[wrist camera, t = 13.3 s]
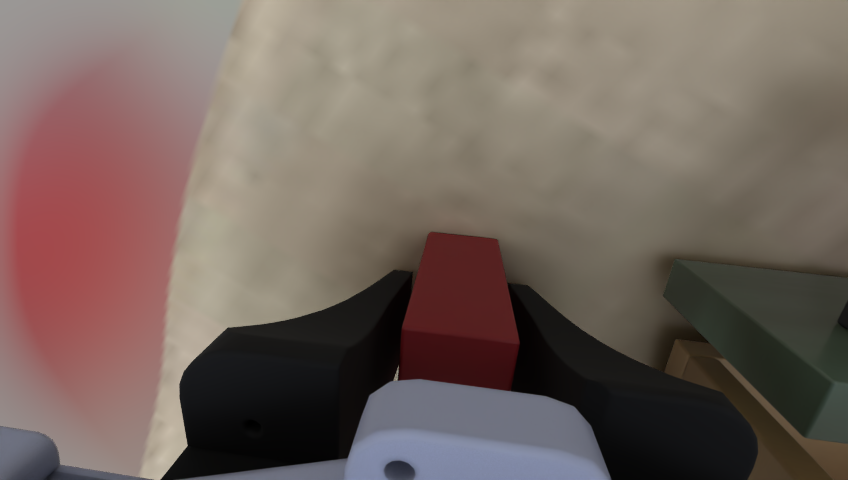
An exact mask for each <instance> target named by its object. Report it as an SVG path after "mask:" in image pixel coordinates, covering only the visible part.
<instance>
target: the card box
mask: <svg viewBox="0 0 848 480" xmlns="http://www.w3.org/2000/svg"><path fill="white" fill-rule="evenodd" d="M519 345H520V341H519V336H518V332H517V327H516V322H515V318H514V313H513V308H512V304H511V299H510V294H509V290H508V285H507V280H506V276H505V271H504V266H503V262H502V257H501V252H500V248H499V243H498V240H497V239H490V238H481V237H472V236H463V235H453V234H444V233H435V232H430V233H429V234H428V238H427V241H426V245H425V248H424V252H423V255H422V259H421V262H420V266H419V269H418V273H417V276H416V280H415V283H414V287H413V290H412V294H411V297H410V301H409V304H408V308H407V311H406V315H405V318H404V322H403V325H402V330H401V345H400V359H399V374H398V381H401V380H413V379H423V380H430V381H438V382H445V383H452V384H460V385H467V386H475V387H482V388H489V389H497V390H504V391H511V387H512V382H513V376H514V371H515V366H516V361H517V356H518V351H519Z"/></svg>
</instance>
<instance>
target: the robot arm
mask: <svg viewBox="0 0 848 480" xmlns="http://www.w3.org/2000/svg"><path fill="white" fill-rule="evenodd" d="M412 274H413V272H408V271H399V270H393V271H392V272H390V273H389V274H387V275H386V276H385V277H383V278H382V279H380V280H379V281H377V282H376V283H374V284H373V285H371V286H370V287H368V288H367V289H365V290H363V291H361V292H360V293H358V294H356V295H354V296H353V297H351V298H349V299H347V300H345V301H343V302H341V303H339V304H336V305H334V306H332V307H329V308H327V309H324V310H321V311H318V312H315V313H311V314H308V315H305V316H302V317H298V318H294V319H289V320H285V321H280V322H274V323H268V324H262V325H252V326H243V327H232V328H227V329H226V330H225V331H224V332H223V333H222V334H221V335H219V336H218V337H217V338H216V339H215V340H214V341H213V342H212V343H211V344H210V345H209V346H208V347H207V348H206V349H205V350H204V351H203V352H202V353H201V354H200V355H199V356H197V357H196V358H195V359H194V360H193V361H192V362H191V364H190V365H189V366H188V367H187V368H186V370H185V371H184V373H183V376H182V378H181V381H180V403H181V408H182V414H183V420H184V426H185V432H186V438H187V444H188V446H187V448H186V449H185V450H184V451H183V453H182V454H181V455H180V456H179V458H178V459H177V460H176V461H175V462H174V464H173V465H172V466H171V467H170V469H169V470H168V471H167V472H166V474H165V475H164V476H163V477H162V479H161V480H748V478H749V476H750V474H751V472H752V470H753V468H754V465H755V462H756V459H757V455H758V441H757V437H756V435H755V433H754V431H753V429H752V427H751V425H750V424H749V422H748V421H747V420H746V419H745V418H744V417H743V415H742V414H741V413H740V412H739V411H738V410H737V409H736V407H735V406H734V405H733V404H732V403H731V402H730V400H729V399H728V398H727V397H726V396H725V395H724V393H723V392H720V391H717V390H714V389H711V388H708V387H705V386H701V385H698V384H695V383H692V382H689V381H686V380H683V379H680V378H677V377H674V376H672V375H669V374H667V373H664V372H662V371H659V370H657V369H654V368H652V367H649V366H647V365H645V364H643V363H640V362H638V361H636V360H634V359H632V358H630V357H628V356H626V355H624V354H622V353H620V352H618V351H616V350H614V349H612V348H610V347H609V346H607V345H605V344H603V343H602V342H600V341H599V340H597V339H595V338H594V337H592V336H590V335H589V334H587V333H586V332H584V331H583V330H581V329H580V328H579V327H577V326H576V325H575V324H573V323H572V322H571V321H569V320H568V319H567V318H565V317H564V316H563V315H562V314H561V313H559V312H558V311H557V310H556V309H555V308H553V307H552V306H551V305H550V304H549V303H548V302H547V301H545V300H544V299H543V298H542V297H541V296H540V295H539V294H538V293H537V292H535V291H534V290H533V289H532V288H531V287H529V286H528V285H520V284H511V283H508V290H509V294H510V299H511V304H512V308H513V313H514V318H515V322H516V327H517V332H518V336H519V341H520V345H519V351H518V356H517V361H516V366H515V371H514V376H513V382H512V387H511V391H504V390H497V389H489V388H482V387H475V386H467V385H460V384H452V383H445V382H438V381H430V380H423V379H413V380H401V381H393V380H394V377H395V374H396V371H397V368H398V365H399V359H400V345H401V330H402V325H403V322H404V318H405V315H406V311H407V308H408V304H409V301H410V297H411V287H412ZM0 480H152V479H146V478H140V477H133V476H128V475H121V474H115V473H108V472H103V471H96V470H90V469H83V468H78V467H72V466H65V465H60V459H59V452H58V449H57V446H56V444H55V443H54V441H53V440H52V439H51V438H49V437H48V436H47V435H45V434H42V433H40V432H35V431H28V430H23V429H16V428H9V427H3V426H0Z"/></svg>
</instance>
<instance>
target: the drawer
mask: <svg viewBox="0 0 848 480" xmlns="http://www.w3.org/2000/svg"><path fill="white" fill-rule="evenodd" d="M663 296H664V297H665V298H666V299H667V300H668V301H669V302H670V303H671V304H672V305H673V306H674V307H675V308H676V309H677V310H678V311H679V312H680V313H681V314H682V315H683V316H684V317H685V318H686V319H687V320H688V322H689V323H690V324H691V325H692V326H693V327H694V328H695V329H696V330H697V331H698V332H699V333H700V334H701V335H702V336H703V337H704V338H705V339H706V340H707V341H708V342H709V343H704V342H696V341H688V340H680V339H676V340H675V343H674V346H673V348H672V351H671V354H670V357H669V360H668V363H667V365H666V368H665V371H664V373H667V374H669V375H672V376H674V377H677V378H680V379H683V380H686V381H689V382H692V383H695V384H698V385H701V386H705V387H708V388H711V389H714V390H717V391H720V392H723V393H724V395H725V396H726V397H727V398H728V399H729V400H730V402H731V403H732V404H733V405H734V406H735V407H736V409H737V410H738V411H739V412H740V413H741V414H742V415H743V417H744V418H745V419H746V420H747V421H748V422H749V424H750V425H751V427H752V429H753V431H754V433H755V435H756V437H757V441H758V455H757V459H756V462H755V465H754V468H753V470H752V472H751V474H750V476H749V478H748V480H848V278H845V277H836V276H827V275H817V274H808V273H799V272H790V271H781V270H772V269H762V268H753V267H744V266H735V265H726V264H717V263H707V262H698V261H689V260H680V259H675V260H674V263H673V266H672V269H671V272H670V275H669V278H668V281H667V284H666V288H665V291H664V294H663Z"/></svg>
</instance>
